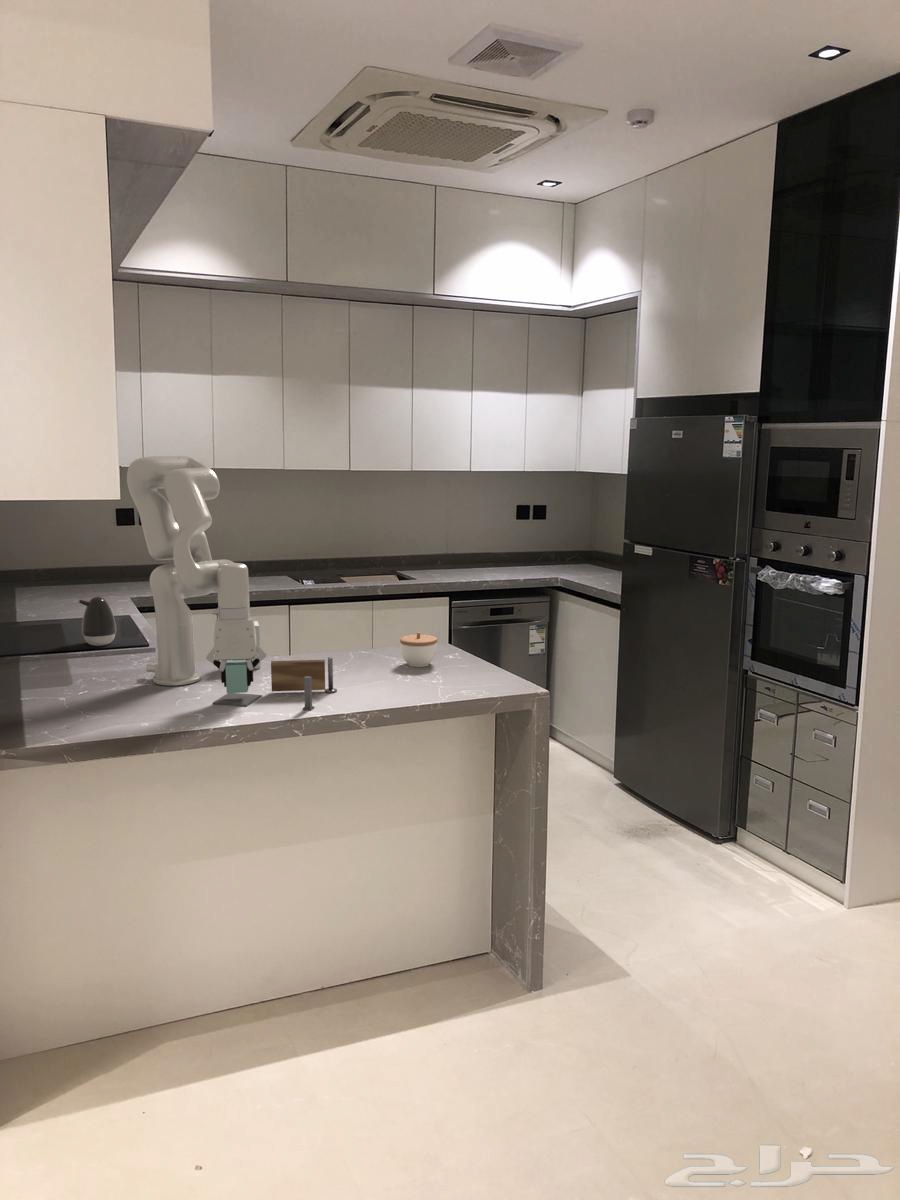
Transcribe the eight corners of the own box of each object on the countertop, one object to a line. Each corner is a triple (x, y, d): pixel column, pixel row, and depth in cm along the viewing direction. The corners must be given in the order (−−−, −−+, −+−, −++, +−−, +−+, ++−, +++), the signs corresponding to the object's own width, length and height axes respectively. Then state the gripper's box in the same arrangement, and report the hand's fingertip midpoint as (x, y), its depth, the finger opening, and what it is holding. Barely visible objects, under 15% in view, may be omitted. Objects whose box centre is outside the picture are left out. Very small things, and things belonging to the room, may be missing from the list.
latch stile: (302, 709, 231) (301, 677, 230) (305, 707, 233) (305, 675, 232) (311, 710, 231) (310, 678, 229) (314, 707, 233) (313, 676, 231)
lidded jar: (395, 667, 272) (395, 635, 270) (406, 659, 282) (405, 628, 280) (431, 670, 269) (431, 637, 268) (441, 661, 280) (441, 629, 278)
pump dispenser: (83, 641, 303) (79, 594, 300) (117, 639, 306) (114, 593, 304) (81, 648, 294) (77, 600, 291) (116, 646, 297) (113, 598, 294)
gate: (272, 689, 246) (271, 661, 245) (325, 687, 248) (324, 659, 247) (271, 691, 244) (270, 663, 243) (325, 689, 246) (324, 661, 245)
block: (226, 693, 236) (225, 665, 234) (228, 687, 240) (227, 660, 239) (247, 692, 236) (246, 664, 235) (248, 687, 241) (247, 660, 240)
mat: (212, 703, 236) (212, 702, 236) (228, 694, 244) (228, 692, 244) (246, 706, 234) (246, 704, 234) (261, 696, 242) (261, 694, 242)
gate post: (322, 692, 246) (322, 658, 244) (327, 689, 249) (326, 655, 248) (334, 693, 245) (333, 659, 244) (338, 690, 248) (338, 656, 247)
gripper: (197, 617, 230) (200, 690, 233) (268, 615, 232) (271, 687, 236) (200, 611, 238) (204, 682, 241) (270, 609, 240) (273, 680, 243)
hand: (237, 684), depth 238 cm, fingers closed on block, 5 cm apart
